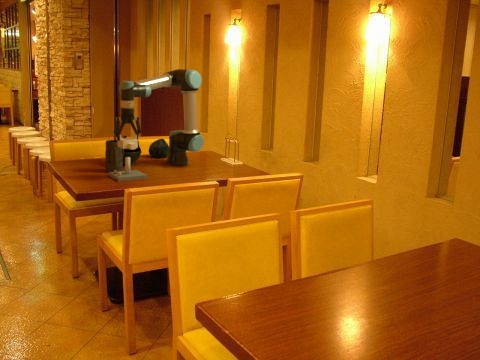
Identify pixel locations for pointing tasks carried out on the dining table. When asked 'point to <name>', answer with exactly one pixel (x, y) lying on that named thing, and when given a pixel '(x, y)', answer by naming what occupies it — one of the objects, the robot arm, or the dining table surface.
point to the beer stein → (113, 156)
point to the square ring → (129, 143)
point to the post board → (129, 176)
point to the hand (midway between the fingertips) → (127, 145)
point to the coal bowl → (131, 154)
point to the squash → (159, 149)
